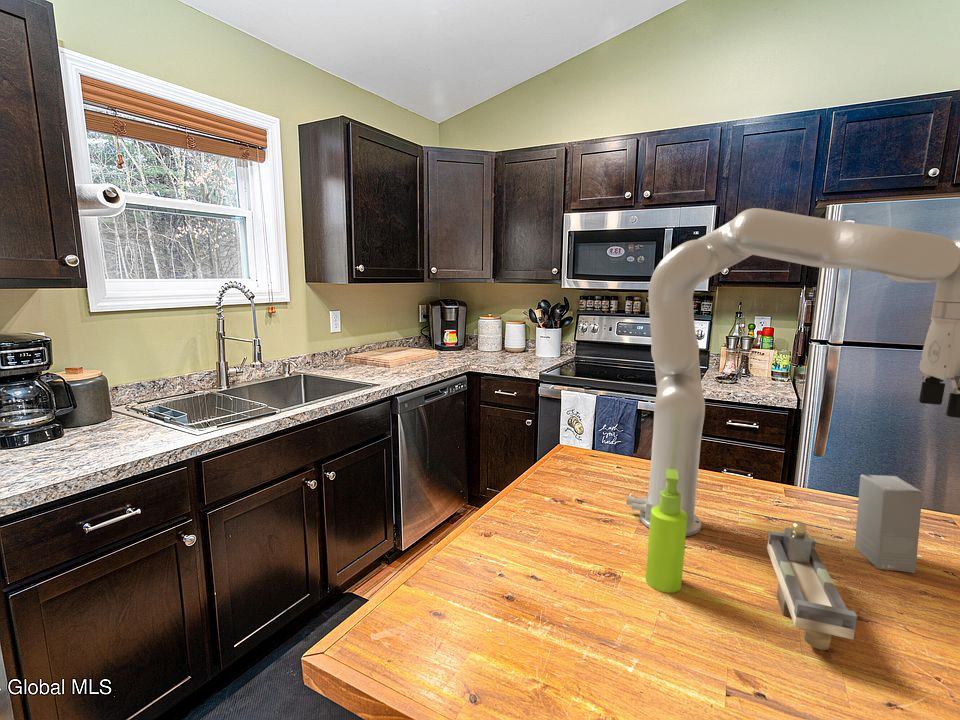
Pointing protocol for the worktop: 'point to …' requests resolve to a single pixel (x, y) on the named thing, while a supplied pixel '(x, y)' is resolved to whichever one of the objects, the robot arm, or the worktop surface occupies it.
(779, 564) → the stand
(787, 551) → the rider
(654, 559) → the soap dispenser
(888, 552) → the skincare box
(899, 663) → the worktop surface
